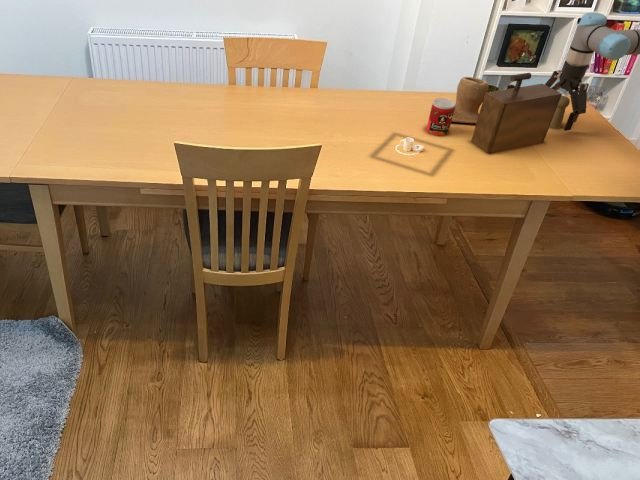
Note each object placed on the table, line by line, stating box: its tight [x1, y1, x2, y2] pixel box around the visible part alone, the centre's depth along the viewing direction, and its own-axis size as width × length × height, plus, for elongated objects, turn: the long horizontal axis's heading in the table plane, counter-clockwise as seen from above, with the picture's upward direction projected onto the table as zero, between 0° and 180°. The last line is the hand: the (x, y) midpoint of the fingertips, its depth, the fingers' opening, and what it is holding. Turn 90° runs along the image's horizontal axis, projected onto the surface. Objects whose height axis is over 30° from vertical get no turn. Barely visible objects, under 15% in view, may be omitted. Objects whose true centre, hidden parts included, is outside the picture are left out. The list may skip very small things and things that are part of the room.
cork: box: [549, 95, 571, 129], centre depth 210 cm, size 6×6×11 cm
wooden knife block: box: [470, 72, 563, 155], centre depth 194 cm, size 23×24×9 cm
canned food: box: [426, 97, 456, 137], centre depth 203 cm, size 8×8×11 cm
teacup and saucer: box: [394, 137, 424, 156], centre depth 194 cm, size 9×8×4 cm
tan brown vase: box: [451, 76, 490, 124], centre depth 210 cm, size 15×12×15 cm
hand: (553, 122), depth 212 cm, fingers open, 12 cm apart
